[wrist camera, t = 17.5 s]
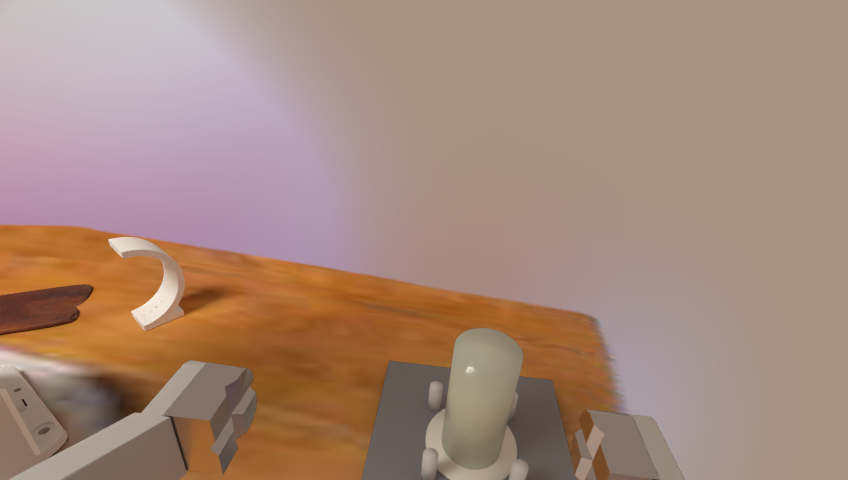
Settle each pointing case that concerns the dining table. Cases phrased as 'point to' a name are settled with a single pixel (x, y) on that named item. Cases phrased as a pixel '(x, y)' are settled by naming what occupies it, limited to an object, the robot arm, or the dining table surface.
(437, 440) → the peg stand
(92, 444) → the robot arm
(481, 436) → the canister
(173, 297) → the headphone stand
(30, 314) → the wooden tablet
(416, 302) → the dining table surface
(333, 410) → the dining table surface
